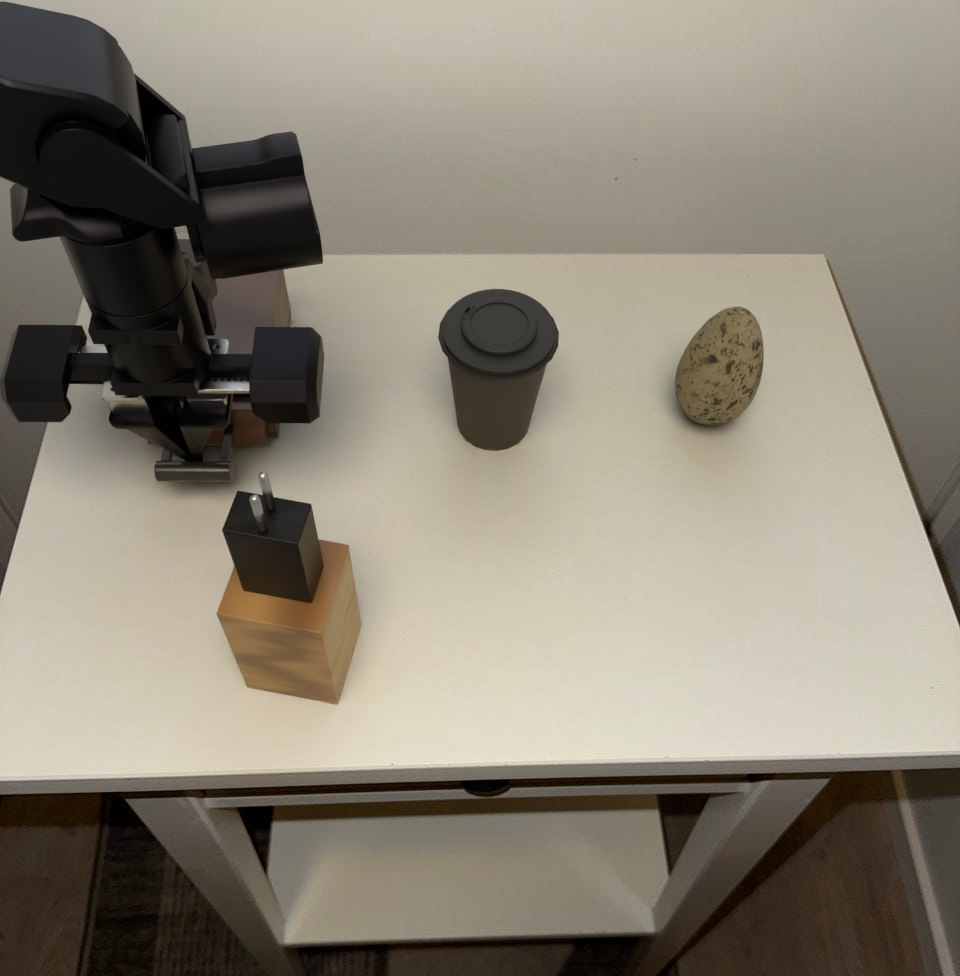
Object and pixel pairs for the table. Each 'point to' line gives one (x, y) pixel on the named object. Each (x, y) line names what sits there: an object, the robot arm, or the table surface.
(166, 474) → the drawer
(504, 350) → the coffee cup
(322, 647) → the pedestal
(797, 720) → the table surface
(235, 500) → the black wall charger
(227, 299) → the cabinet
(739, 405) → the decorative egg
